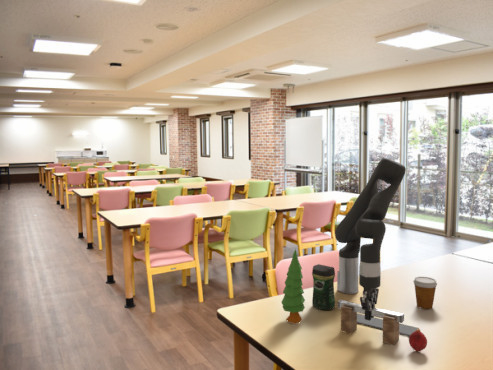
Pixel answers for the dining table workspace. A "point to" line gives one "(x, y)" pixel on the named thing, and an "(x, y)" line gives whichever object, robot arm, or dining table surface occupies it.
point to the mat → (379, 324)
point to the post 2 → (390, 330)
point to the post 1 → (348, 319)
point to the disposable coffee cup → (425, 291)
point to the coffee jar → (323, 287)
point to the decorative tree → (293, 291)
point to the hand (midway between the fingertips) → (369, 318)
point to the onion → (418, 340)
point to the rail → (372, 311)
